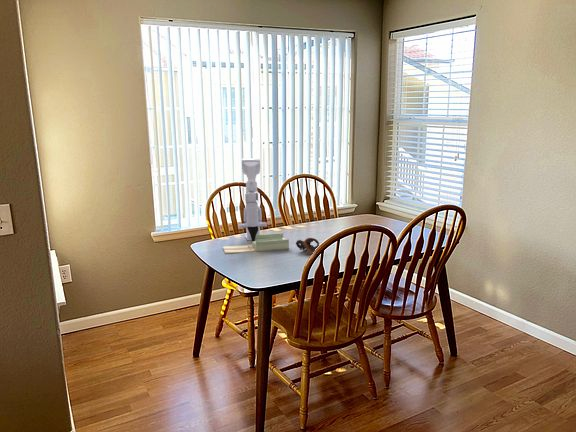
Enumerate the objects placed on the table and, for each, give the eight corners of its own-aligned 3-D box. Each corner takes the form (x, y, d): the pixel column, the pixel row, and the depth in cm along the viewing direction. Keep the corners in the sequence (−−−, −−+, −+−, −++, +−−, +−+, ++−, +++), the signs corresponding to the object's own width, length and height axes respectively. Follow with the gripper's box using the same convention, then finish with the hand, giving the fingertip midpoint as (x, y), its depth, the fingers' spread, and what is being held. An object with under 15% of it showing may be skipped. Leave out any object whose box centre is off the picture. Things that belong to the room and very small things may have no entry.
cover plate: (222, 249, 255) (222, 246, 254) (252, 247, 258) (252, 243, 258) (225, 256, 244) (225, 252, 244) (255, 253, 248) (255, 250, 248)
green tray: (251, 244, 259) (251, 235, 258) (283, 242, 263) (282, 232, 262) (256, 251, 247) (255, 242, 246) (288, 249, 251) (288, 239, 250)
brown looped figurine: (318, 249, 251) (321, 238, 246) (315, 262, 244) (319, 251, 238) (295, 243, 251) (298, 232, 246) (292, 256, 244) (295, 245, 239)
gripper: (239, 218, 243) (240, 244, 246) (267, 216, 247) (268, 241, 250) (237, 214, 250) (238, 240, 253) (265, 212, 253) (265, 238, 257)
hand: (253, 240), depth 252 cm, fingers closed
